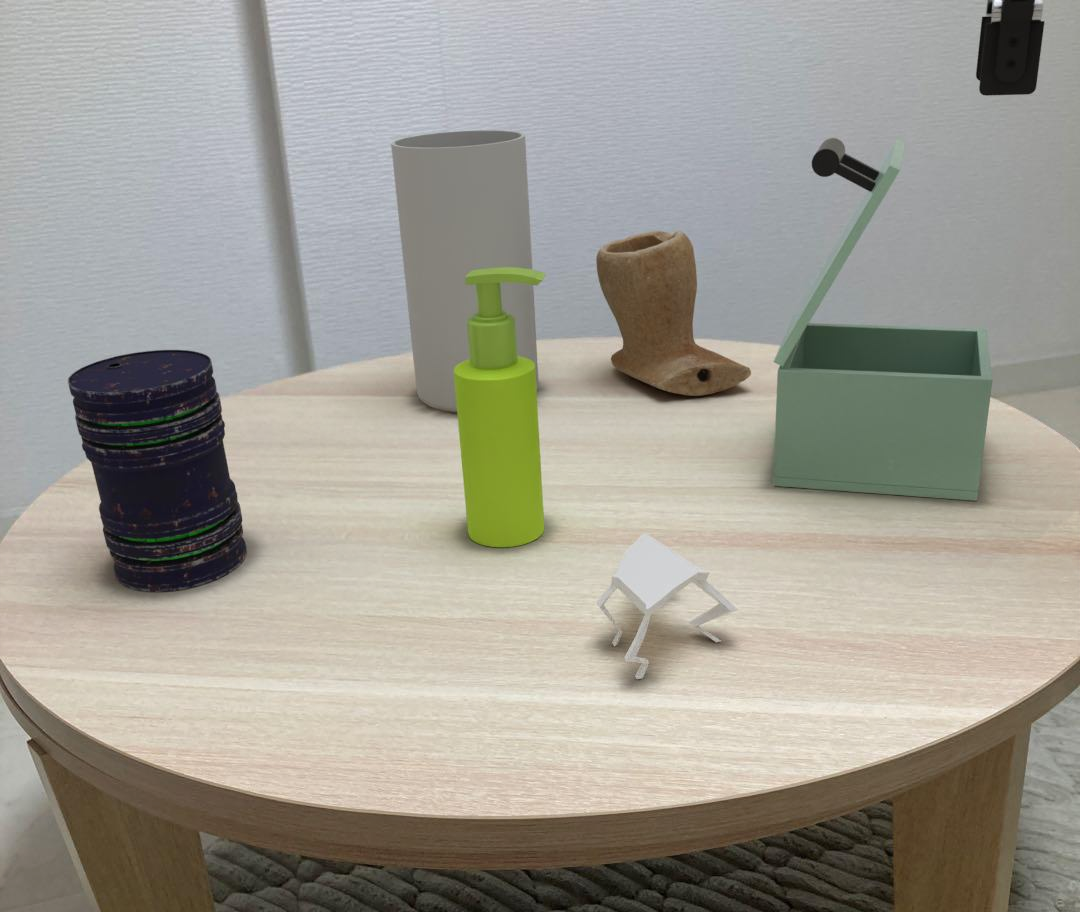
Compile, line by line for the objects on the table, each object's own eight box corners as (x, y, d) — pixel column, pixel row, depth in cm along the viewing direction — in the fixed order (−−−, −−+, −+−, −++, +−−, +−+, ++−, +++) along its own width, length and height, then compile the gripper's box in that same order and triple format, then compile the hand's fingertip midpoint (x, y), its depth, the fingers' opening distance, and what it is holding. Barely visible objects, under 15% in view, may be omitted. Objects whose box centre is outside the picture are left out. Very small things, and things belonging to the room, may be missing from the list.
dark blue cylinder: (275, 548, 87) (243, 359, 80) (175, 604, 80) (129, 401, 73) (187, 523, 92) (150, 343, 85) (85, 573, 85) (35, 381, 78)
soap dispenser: (551, 548, 84) (536, 279, 75) (460, 546, 85) (435, 281, 77) (562, 515, 89) (550, 259, 81) (476, 513, 91) (455, 261, 82)
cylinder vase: (484, 368, 125) (466, 127, 114) (564, 390, 117) (552, 133, 106) (393, 397, 117) (364, 143, 106) (471, 424, 109) (448, 151, 98)
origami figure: (754, 668, 68) (756, 596, 66) (619, 689, 67) (617, 617, 65) (691, 577, 79) (691, 513, 77) (574, 595, 78) (571, 530, 76)
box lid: (905, 143, 91) (841, 109, 91) (900, 170, 79) (826, 131, 80) (801, 319, 99) (742, 288, 100) (782, 366, 88) (716, 331, 88)
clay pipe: (582, 371, 122) (576, 229, 115) (679, 353, 126) (680, 215, 119) (647, 413, 109) (645, 256, 103) (753, 392, 113) (758, 239, 107)
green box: (973, 438, 99) (986, 328, 95) (977, 501, 88) (992, 379, 84) (791, 427, 104) (796, 322, 100) (772, 486, 92) (777, 370, 88)
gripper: (1131, -263, 57) (1079, 99, 65) (1094, -218, 72) (1055, 73, 80) (973, -245, 60) (941, 102, 67) (968, -205, 74) (942, 77, 82)
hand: (1003, 86), depth 73 cm, fingers open, 9 cm apart
